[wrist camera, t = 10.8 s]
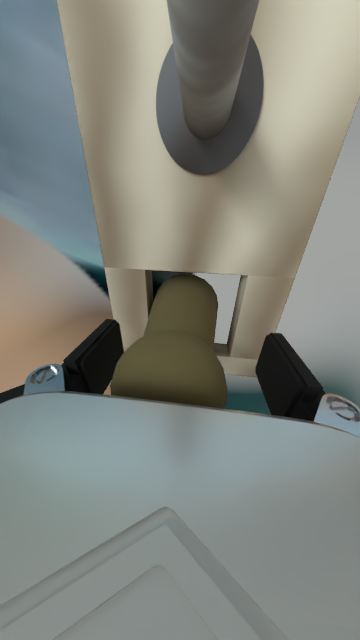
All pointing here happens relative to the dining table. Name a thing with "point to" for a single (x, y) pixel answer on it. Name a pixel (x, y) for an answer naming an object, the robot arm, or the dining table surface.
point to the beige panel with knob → (210, 143)
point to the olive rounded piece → (176, 349)
